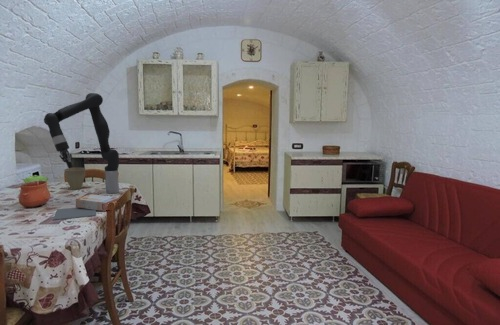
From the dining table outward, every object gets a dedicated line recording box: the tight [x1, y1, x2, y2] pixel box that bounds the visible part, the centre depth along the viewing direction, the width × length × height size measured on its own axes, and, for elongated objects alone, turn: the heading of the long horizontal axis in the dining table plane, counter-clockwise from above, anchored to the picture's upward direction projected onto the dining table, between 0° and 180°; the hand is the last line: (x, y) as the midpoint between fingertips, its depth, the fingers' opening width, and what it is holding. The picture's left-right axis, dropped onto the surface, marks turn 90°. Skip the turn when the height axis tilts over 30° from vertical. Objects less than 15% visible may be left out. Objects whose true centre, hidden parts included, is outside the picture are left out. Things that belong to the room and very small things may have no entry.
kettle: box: [21, 174, 50, 184], centre depth 258 cm, size 15×14×11 cm
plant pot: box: [63, 167, 86, 190], centre depth 260 cm, size 15×15×16 cm
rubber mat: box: [52, 206, 97, 221], centre depth 197 cm, size 22×22×1 cm
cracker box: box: [75, 193, 119, 212], centre depth 209 cm, size 14×6×21 cm
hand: (70, 167), depth 215 cm, fingers closed
